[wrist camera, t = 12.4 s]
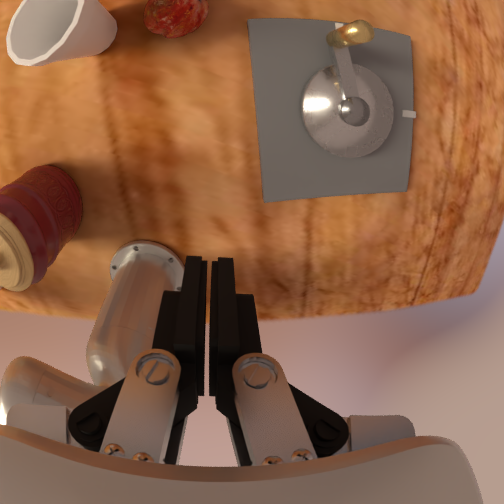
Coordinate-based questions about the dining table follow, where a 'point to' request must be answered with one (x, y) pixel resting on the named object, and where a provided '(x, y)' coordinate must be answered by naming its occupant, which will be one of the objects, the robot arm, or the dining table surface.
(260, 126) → the base
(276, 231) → the dining table surface
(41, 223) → the canister
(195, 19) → the pomegranate
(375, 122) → the crank handle
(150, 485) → the robot arm
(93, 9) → the foam cup
